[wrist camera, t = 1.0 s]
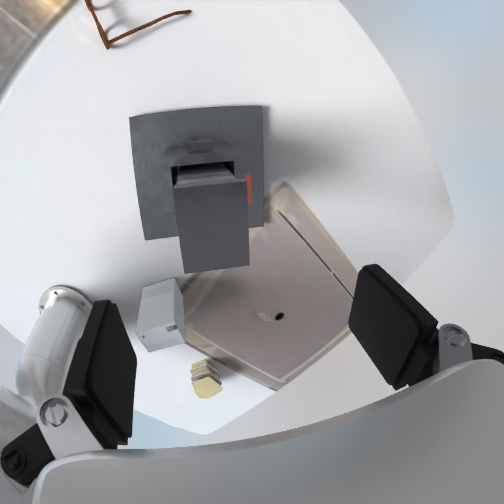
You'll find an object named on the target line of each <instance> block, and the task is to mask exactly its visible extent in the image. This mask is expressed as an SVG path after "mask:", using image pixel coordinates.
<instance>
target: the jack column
mask: <svg viewBox="0 0 504 504" xmlns="http://www.w3.org/2000/svg"><path fill="white" fill-rule="evenodd" d="M177 177H178V179H177V184H176V185H174V187H173V192H174V201H175V209H176V217H177V225H178V232H179V240H180V247H181V253H182V260H183V266H184V272H185V274H186V273H194V272H202V271H210V270H217V269H225V268H233V267H241V266H248V265H250V261H249V231H248V199H247V181H246V180H245V179H244V178H241V179H237V178H235V177H234V175H233V174H231V173H230V170H228V169H227V168H226V167H225V166H224V165H223V163H222V162H212V163H202V164H192V165H183V166H180V168H179V174H178V176H177Z"/></svg>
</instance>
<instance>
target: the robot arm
mask: <svg viewBox="0 0 504 504" xmlns="http://www.w3.org/2000/svg"><path fill="white" fill-rule="evenodd" d="M39 312H40V316H39V318H38V320H37V322H36V324H35V326H34V328H33V330H32V331H31V333H30V335H29V337H28V340H27V342H26V344H25V346H24V348H23V350H22V352H21V354H20V357H19V359H18V361H17V364H16V366H15V372H14V378H15V385H16V389H17V393H18V395H17V394H14V393H13V392H12V391H10V390H9V389H8V388H6V387H5V386H3V385H2V384H1V383H0V455H1V456H0V504H504V353H503V352H502V351H500V350H497V349H493V348H489V347H486V346H482V345H478V344H474V343H470V338H469V335H468V334H467V332H466V331H465V330H464V329H463V328H461V327H460V326H458V325H455V324H444V325H442V326H441V327H440V329H439V330H438V329H437V328H436V326H437V324H438V321H437V320H436V319H435V318H434V317H433V316H432V315H431V314H430V313H429V312H428V311H427V310H426V309H425V308H424V307H423V306H422V305H421V304H420V303H419V302H418V301H417V300H416V299H415V298H414V297H413V296H412V295H411V294H410V293H408V292H407V291H406V290H405V289H404V288H403V287H402V286H401V285H400V284H399V283H398V282H397V281H396V280H395V279H393V278H392V277H391V276H390V275H389V274H388V273H387V272H386V271H385V270H384V269H382V268H381V267H380V266H379V265H378V264H371V265H366V266H363V268H362V270H360V271H359V274H358V279H357V284H356V289H355V294H354V298H353V303H352V308H351V312H350V316H349V321H348V324H349V328H350V330H351V331H352V333H353V334H354V335H355V337H356V338H357V340H358V341H359V342H360V344H361V345H362V347H363V348H364V350H365V351H366V353H367V354H368V356H369V357H370V358H371V360H372V361H373V363H374V364H375V366H376V367H377V369H378V370H379V372H380V373H381V375H382V376H383V377H384V379H385V380H386V382H387V383H388V384H389V385H392V386H393V388H394V389H395V390H398V389H400V388H402V387H405V386H406V385H407V384H408V385H409V387H408V388H406V389H404V390H402V391H400V392H398V393H395V394H393V395H391V396H389V397H386V398H384V399H382V400H379V401H377V402H374V403H372V404H369V405H367V406H364V407H361V408H359V409H356V410H353V411H350V412H348V413H345V414H342V415H339V416H336V417H333V418H330V419H327V420H324V421H320V422H317V423H314V424H310V425H306V426H303V427H299V428H295V429H291V430H287V431H283V432H279V433H275V434H270V435H265V436H260V437H255V438H250V439H244V440H238V441H232V442H225V443H218V444H210V445H201V446H189V447H176V448H159V449H117V445H127V443H128V438H129V437H130V438H131V436H132V422H133V421H132V420H133V404H134V390H135V378H136V368H137V358H136V354H135V352H134V349H133V347H132V345H131V342H130V340H129V337H128V335H127V332H126V330H125V327H124V324H123V322H122V319H121V316H120V313H119V311H118V308H117V305H116V304H115V303H113V304H112V302H111V301H110V300H102V301H95V302H94V304H93V306H92V305H91V303H90V302H89V301H88V300H87V299H86V298H85V297H84V296H83V295H81V294H80V293H78V292H77V291H75V290H73V289H70V288H67V287H62V286H56V287H52V288H49V289H48V290H46V291H45V292H44V293H43V295H42V297H41V298H40V301H39Z"/></svg>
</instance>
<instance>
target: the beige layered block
mask: <svg viewBox="0 0 504 504" xmlns="http://www.w3.org/2000/svg"><path fill="white" fill-rule="evenodd" d="M190 371H191V374H192V377H191V380H192V386H193V388H194V390H195V393H196V395H197V396H198V397H199V398H206V399H208V398H210V397H212V396H214V395H215V394H217V393H219V392H221V391H222V389H223V388H222V386H221V385H222V383H221V381H220V380H219V379H220V374H219V373H218V372H217V369H216V368H214V367H211V366H210V364H209V363H208V362H207V361H206V360H202V361H199V362H197V363H194V364H192V369H190Z"/></svg>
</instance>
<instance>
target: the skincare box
mask: <svg viewBox="0 0 504 504" xmlns="http://www.w3.org/2000/svg"><path fill="white" fill-rule="evenodd" d="M136 334H137V336H138V337H139V339H140V340H141V342H142V343H143V345H144V346H145V348H146V349H147V351H148V352H152V351H156V350H160V349H164V348H167V347H171V346H174V345H178V344H182V343H185V342H186V336H185V323H184V306H183V296H182V293H181V291H180V289H179V287H178V284H177V282H176V279H175V278H171V279H168V280H164V281H161V282H158V283H155V284H152V285H148V286H145V287H143V291H142V296H141V302H140V308H139V314H138V320H137V327H136Z"/></svg>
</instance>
